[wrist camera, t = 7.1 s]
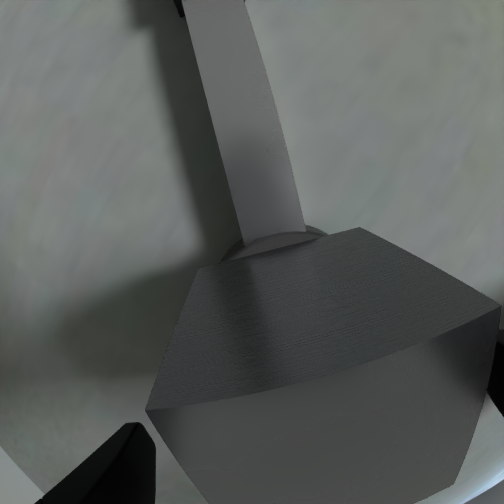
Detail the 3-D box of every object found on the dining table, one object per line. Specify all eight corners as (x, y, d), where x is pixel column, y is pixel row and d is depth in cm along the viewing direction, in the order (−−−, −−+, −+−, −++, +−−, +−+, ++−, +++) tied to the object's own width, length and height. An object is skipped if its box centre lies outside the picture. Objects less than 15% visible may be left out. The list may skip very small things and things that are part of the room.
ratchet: (363, 338, 14) (414, 413, 9) (234, 371, 14) (233, 463, 9) (242, -97, 8) (245, -164, 3) (125, -69, 8) (93, -129, 3)
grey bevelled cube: (375, 359, 12) (453, 484, 5) (242, 395, 12) (246, 546, 5) (359, 227, 10) (501, 305, 4) (198, 268, 10) (145, 410, 4)
